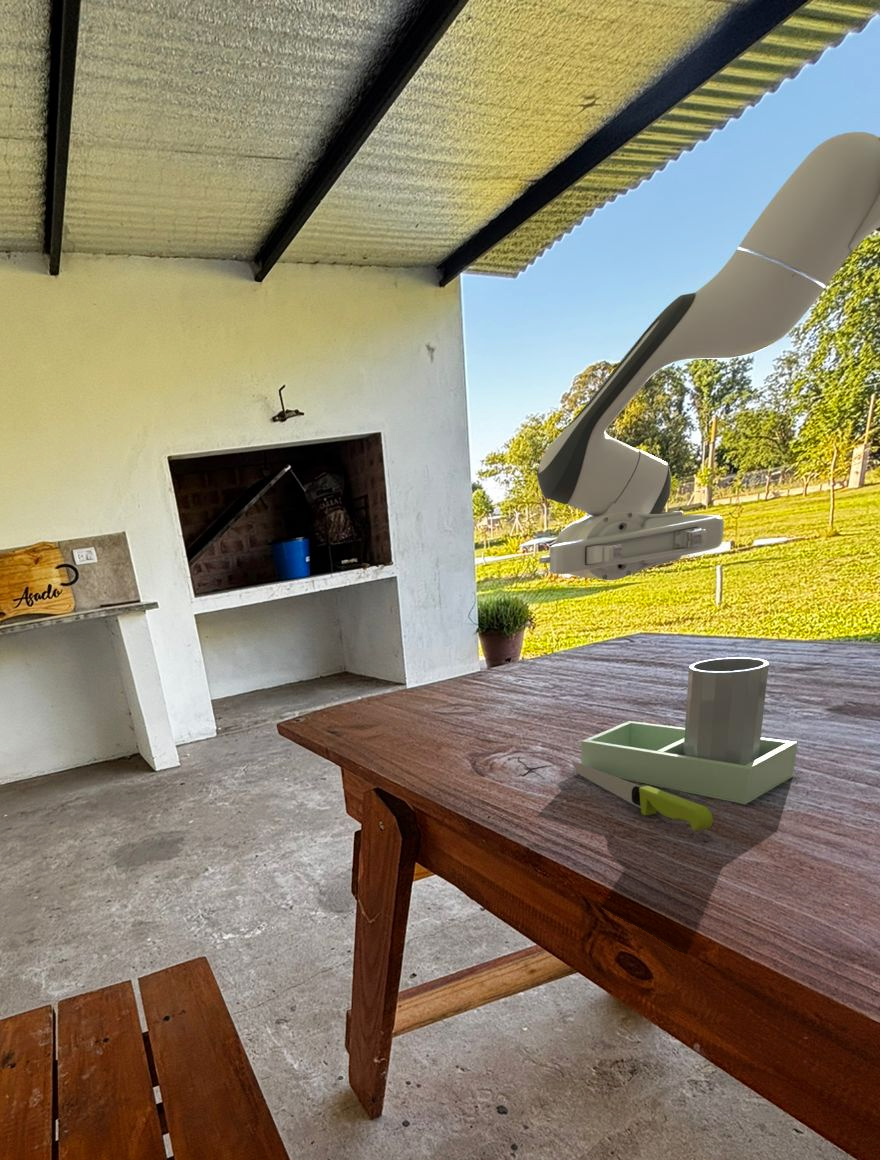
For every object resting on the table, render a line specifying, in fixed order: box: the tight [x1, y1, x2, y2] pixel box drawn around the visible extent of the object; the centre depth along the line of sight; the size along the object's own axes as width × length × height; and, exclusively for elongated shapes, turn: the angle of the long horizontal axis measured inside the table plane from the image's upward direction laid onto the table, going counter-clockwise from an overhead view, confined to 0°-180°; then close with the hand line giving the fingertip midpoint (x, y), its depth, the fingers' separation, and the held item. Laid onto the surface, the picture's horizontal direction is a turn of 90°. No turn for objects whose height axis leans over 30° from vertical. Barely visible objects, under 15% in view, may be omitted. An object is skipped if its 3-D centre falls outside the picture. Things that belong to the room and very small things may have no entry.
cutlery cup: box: [683, 657, 770, 765], centre depth 63 cm, size 6×6×12 cm
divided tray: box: [580, 720, 798, 805], centre depth 68 cm, size 9×18×4 cm, turn 30°
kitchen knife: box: [571, 760, 714, 832], centre depth 64 cm, size 22×1×3 cm, turn 5°
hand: (657, 545), depth 74 cm, fingers open, 8 cm apart
